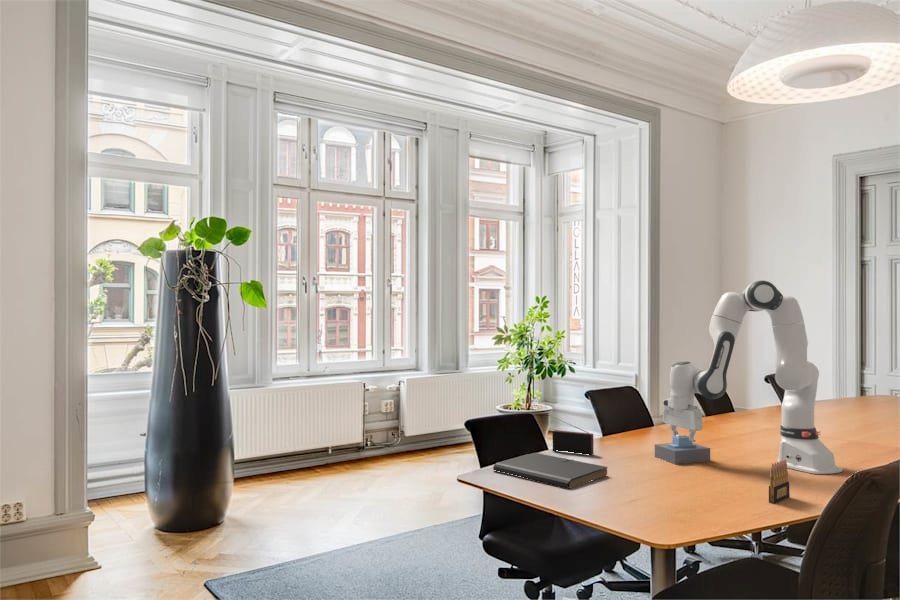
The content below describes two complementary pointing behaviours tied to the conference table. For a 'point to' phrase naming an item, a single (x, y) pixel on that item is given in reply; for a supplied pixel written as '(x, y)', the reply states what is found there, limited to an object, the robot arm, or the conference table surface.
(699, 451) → the grey socket block
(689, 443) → the servo
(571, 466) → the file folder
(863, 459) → the conference table surface
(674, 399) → the robot arm
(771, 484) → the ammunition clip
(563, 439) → the radio
